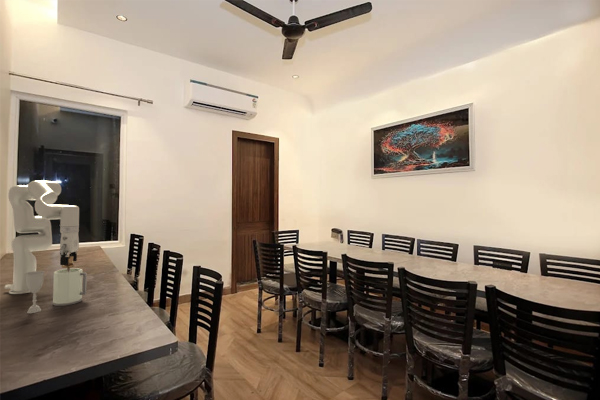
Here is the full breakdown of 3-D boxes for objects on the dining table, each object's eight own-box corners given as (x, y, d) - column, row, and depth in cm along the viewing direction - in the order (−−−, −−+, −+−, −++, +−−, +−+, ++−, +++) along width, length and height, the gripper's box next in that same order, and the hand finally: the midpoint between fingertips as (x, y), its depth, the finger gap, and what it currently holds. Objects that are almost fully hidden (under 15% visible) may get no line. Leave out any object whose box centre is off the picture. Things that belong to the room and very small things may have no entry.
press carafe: (48, 306, 145) (49, 273, 145) (59, 299, 156) (60, 268, 156) (80, 304, 149) (81, 272, 149) (89, 297, 160) (90, 267, 160)
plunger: (58, 300, 148) (59, 257, 149) (63, 297, 154) (64, 255, 154) (71, 299, 150) (72, 257, 150) (76, 296, 155) (77, 255, 156)
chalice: (47, 309, 141) (48, 271, 141) (30, 314, 134) (31, 275, 134) (37, 307, 143) (38, 270, 143) (20, 312, 137) (21, 273, 137)
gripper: (70, 231, 145) (69, 266, 145) (84, 228, 162) (84, 259, 161) (52, 231, 143) (51, 267, 143) (68, 228, 159) (67, 260, 159)
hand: (68, 263), depth 152 cm, fingers open, 9 cm apart
